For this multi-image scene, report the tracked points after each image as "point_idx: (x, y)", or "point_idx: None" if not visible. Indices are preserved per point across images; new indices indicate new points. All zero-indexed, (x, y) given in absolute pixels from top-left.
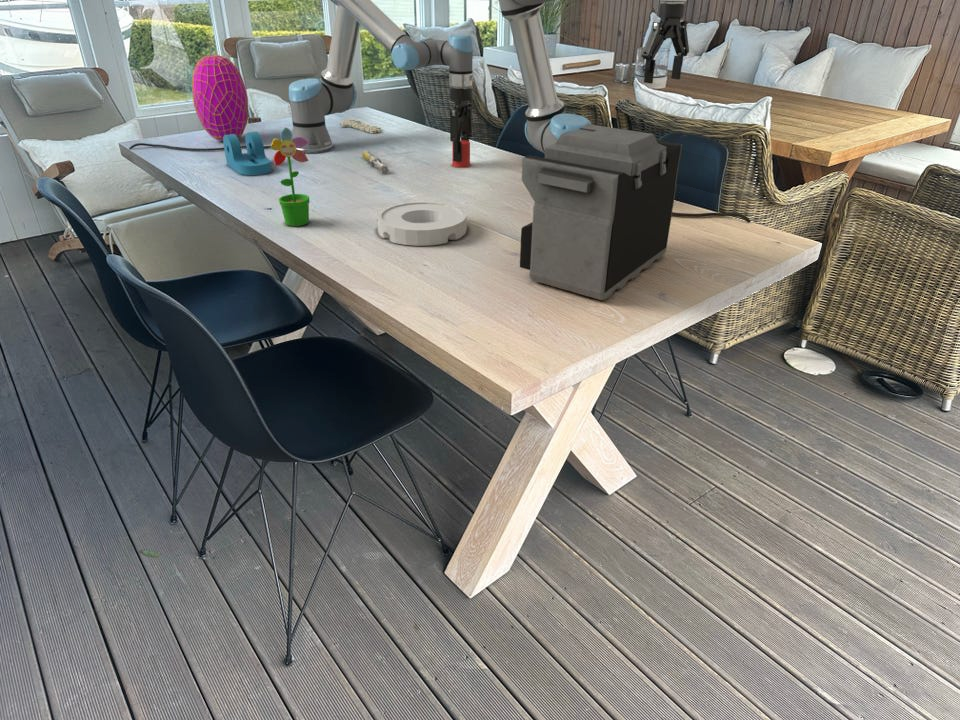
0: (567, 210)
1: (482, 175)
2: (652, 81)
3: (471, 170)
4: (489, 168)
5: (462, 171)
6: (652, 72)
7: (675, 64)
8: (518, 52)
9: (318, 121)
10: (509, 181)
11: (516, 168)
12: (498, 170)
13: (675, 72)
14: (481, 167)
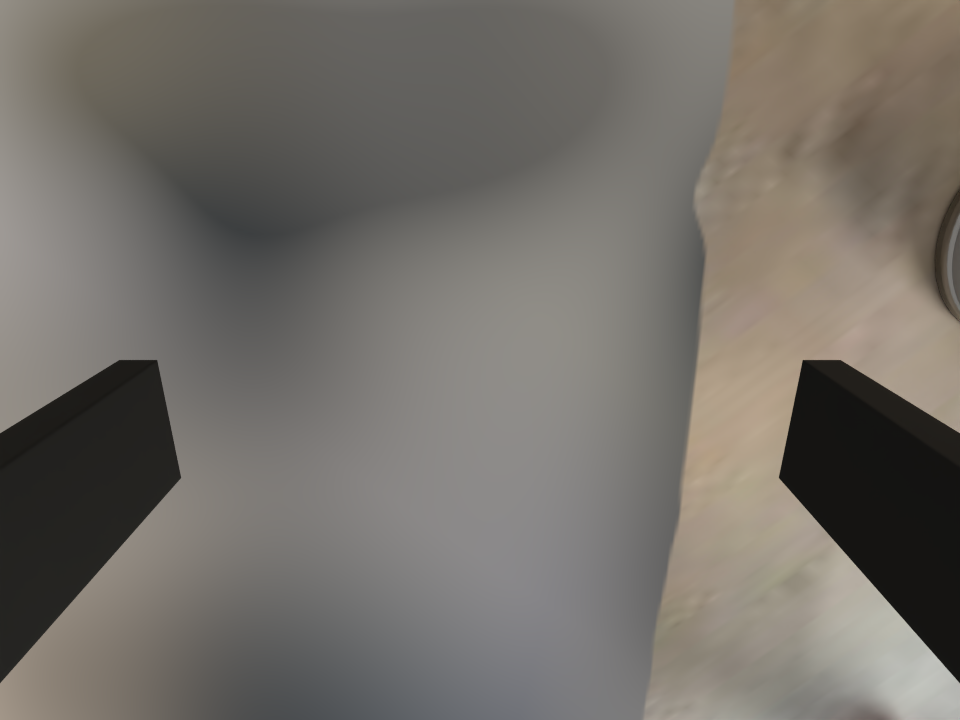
0: None
1: None
2: (823, 370)
3: (908, 692)
4: (843, 677)
5: (939, 699)
6: (952, 433)
7: (34, 578)
8: None
9: None
10: None
11: (775, 630)
12: (844, 646)
13: (119, 469)
14: (851, 699)
